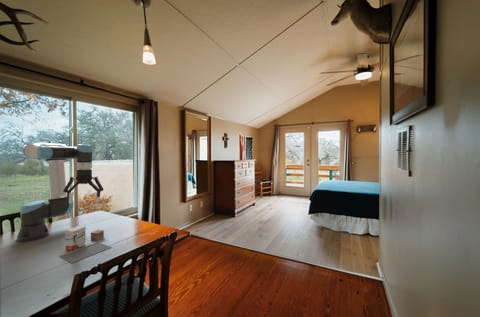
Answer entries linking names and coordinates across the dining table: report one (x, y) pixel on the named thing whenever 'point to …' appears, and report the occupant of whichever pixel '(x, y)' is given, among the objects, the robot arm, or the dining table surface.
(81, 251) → the mat
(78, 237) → the ink box
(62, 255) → the oak strip
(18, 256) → the dining table surface
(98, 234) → the walnut block
